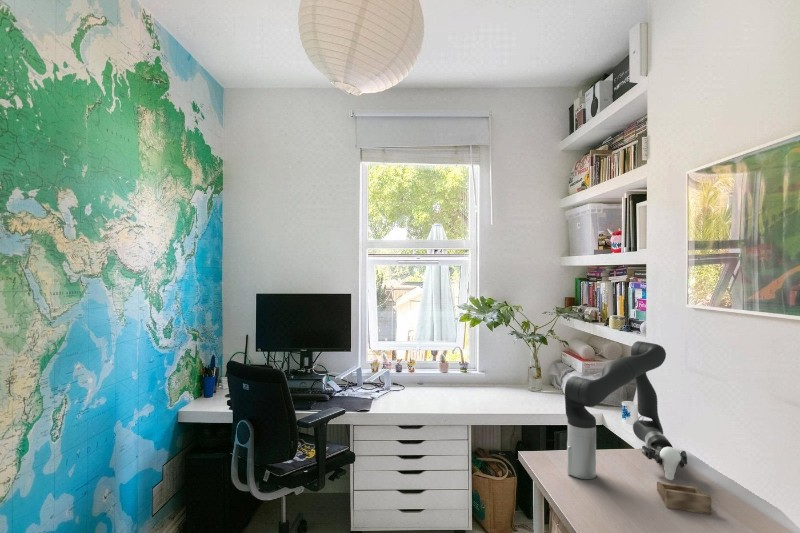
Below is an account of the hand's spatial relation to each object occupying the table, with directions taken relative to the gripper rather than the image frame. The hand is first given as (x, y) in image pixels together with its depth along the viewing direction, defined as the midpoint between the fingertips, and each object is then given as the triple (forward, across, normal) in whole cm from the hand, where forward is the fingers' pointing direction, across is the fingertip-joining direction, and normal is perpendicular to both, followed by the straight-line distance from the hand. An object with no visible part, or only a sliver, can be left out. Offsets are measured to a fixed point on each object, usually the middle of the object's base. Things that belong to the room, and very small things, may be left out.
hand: (671, 463), depth 144 cm
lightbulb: (-3, 0, +7) cm, 7 cm away
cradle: (+11, 0, +7) cm, 13 cm away
